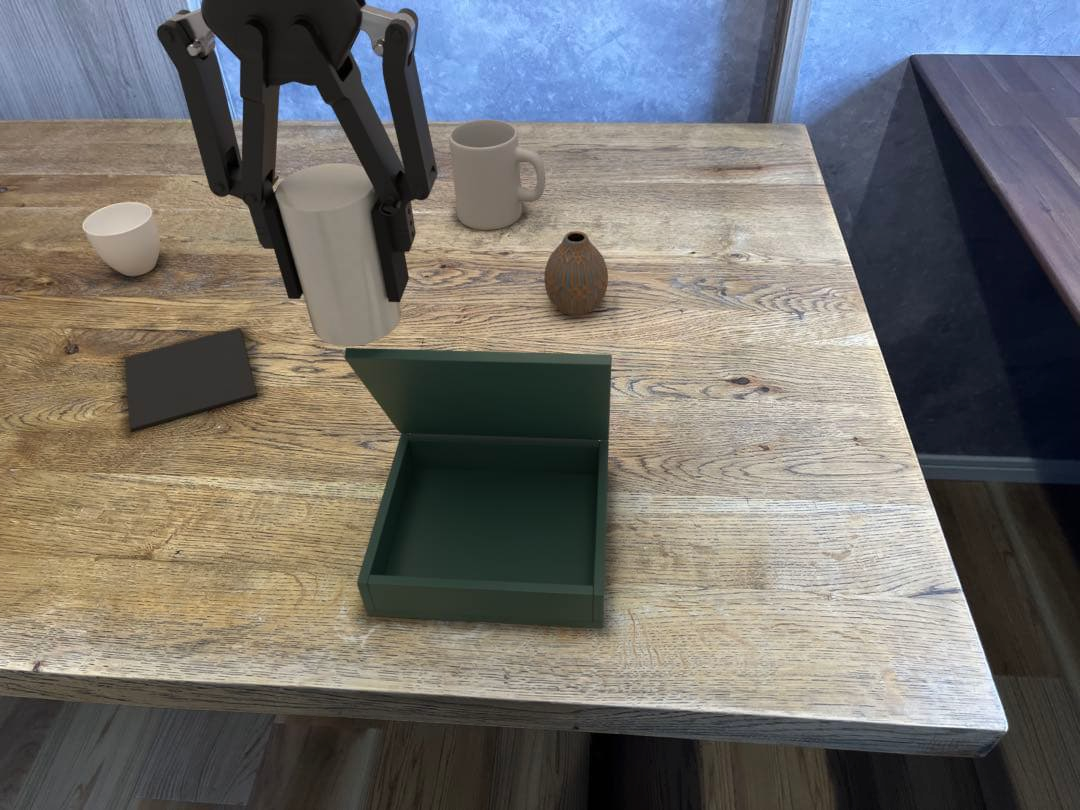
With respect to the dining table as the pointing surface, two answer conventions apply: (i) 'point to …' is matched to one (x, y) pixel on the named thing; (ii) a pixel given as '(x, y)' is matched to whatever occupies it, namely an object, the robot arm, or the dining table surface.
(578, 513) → the box
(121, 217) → the cup
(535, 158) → the mug
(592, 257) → the vase
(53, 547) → the dining table surface
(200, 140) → the robot arm
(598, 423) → the lid
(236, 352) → the mat
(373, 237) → the beige cylinder
